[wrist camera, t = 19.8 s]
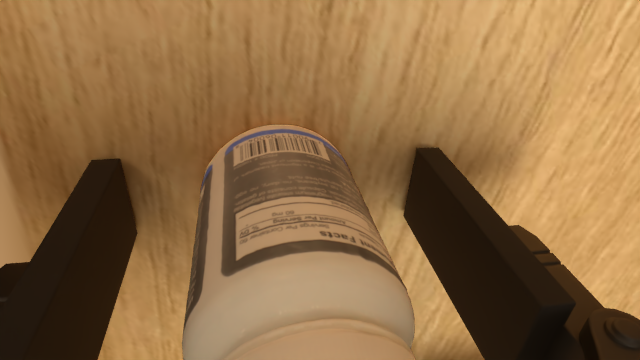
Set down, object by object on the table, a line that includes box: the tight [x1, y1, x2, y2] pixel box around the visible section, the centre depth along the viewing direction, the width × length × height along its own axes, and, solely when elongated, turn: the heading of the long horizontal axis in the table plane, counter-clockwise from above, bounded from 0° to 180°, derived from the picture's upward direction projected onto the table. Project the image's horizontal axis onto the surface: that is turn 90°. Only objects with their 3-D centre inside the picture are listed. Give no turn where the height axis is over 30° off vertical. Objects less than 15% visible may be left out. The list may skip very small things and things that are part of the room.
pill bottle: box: [182, 125, 416, 360], centre depth 10 cm, size 5×5×8 cm
